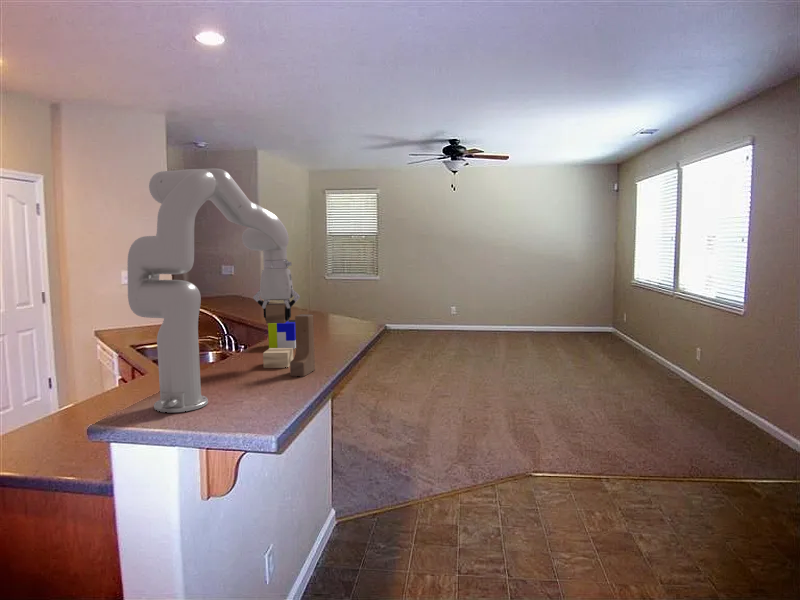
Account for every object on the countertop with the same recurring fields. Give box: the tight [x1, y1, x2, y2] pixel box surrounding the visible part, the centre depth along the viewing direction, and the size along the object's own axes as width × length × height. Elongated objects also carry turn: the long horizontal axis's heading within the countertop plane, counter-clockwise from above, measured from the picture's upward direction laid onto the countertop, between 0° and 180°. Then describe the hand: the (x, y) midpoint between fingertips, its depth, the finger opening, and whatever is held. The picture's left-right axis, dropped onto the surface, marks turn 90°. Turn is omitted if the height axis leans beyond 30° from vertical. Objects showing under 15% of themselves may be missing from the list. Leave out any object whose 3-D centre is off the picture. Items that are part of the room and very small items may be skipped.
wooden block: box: [289, 313, 316, 378], centre depth 171 cm, size 9×4×18 cm, turn 166°
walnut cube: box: [265, 302, 290, 324], centre depth 182 cm, size 6×6×6 cm
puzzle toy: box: [267, 319, 296, 350], centre depth 216 cm, size 10×10×10 cm
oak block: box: [262, 347, 294, 369], centre depth 184 cm, size 8×8×5 cm
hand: (277, 319), depth 183 cm, fingers closed on walnut cube, 6 cm apart
